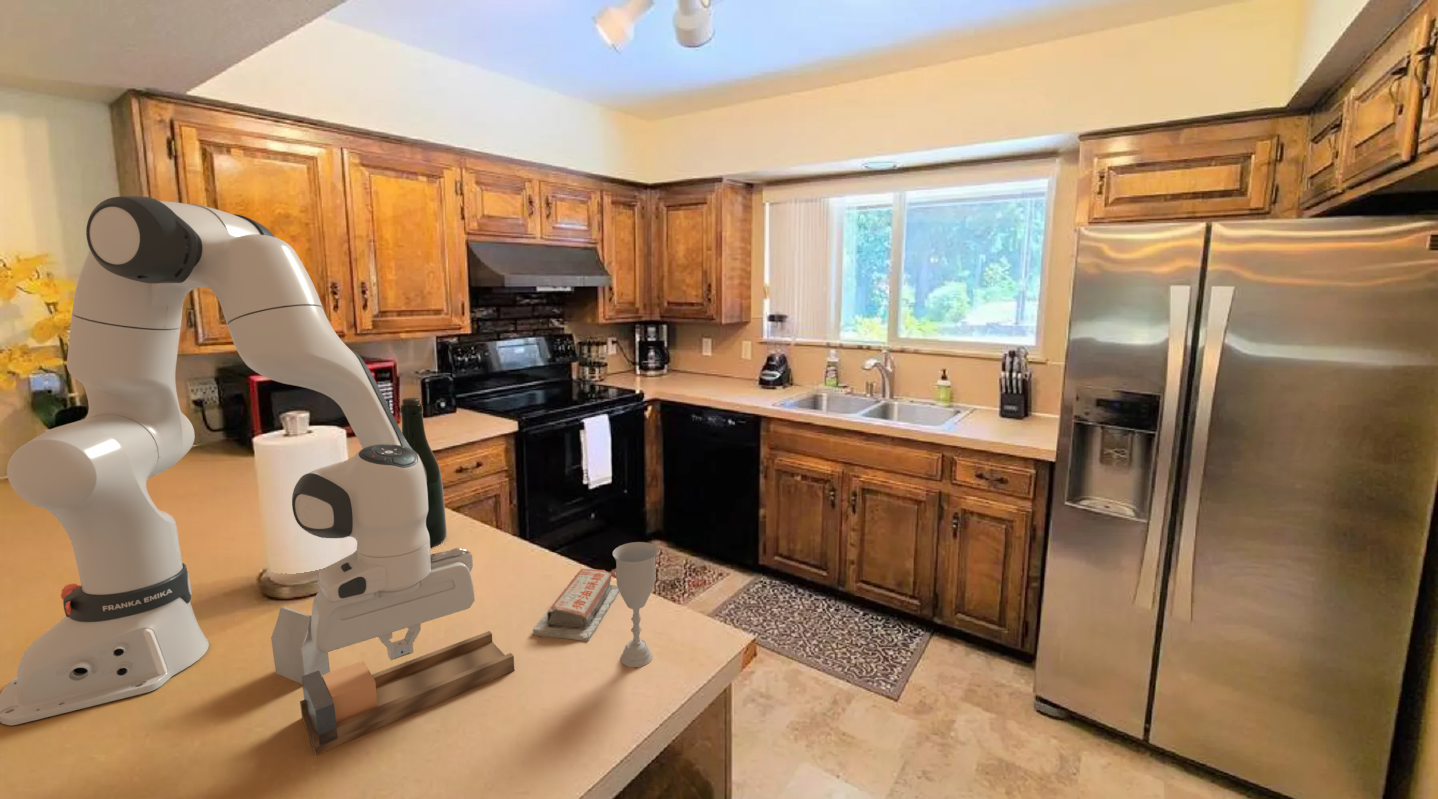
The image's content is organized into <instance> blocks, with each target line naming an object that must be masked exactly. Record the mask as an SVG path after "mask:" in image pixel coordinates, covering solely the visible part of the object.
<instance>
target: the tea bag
mask: <svg viewBox="0 0 1438 799" xmlns="http://www.w3.org/2000/svg"><path fill="white" fill-rule="evenodd" d="M311 616H312V614H308V613H304V612H301V611H298V610H295V609H292V608H289V607H286V606H282V607H279V612H278V616H277V620H276V623H275V625H274V629H273V632H272V635H271V646H272V654H273V661H274V670H275V674H276V675H279V676H281V677H284V678H286V679H289V680H290V681H293V682H296V683H299V684H301V685H302V677H301V676H304V675H307V674H310V673H313V672H316V671H319V672H320V674H321V676H322V675H324V674H327V673H330V672H331V668H330V667H331V666H330V660H329V652H327V653H322V652H320V651H318V650H317V649H316V648H315V646H314V644H313V641H312V636H311Z"/></svg>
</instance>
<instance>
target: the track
mask: <svg viewBox="0 0 1438 799" xmlns="http://www.w3.org/2000/svg"><path fill="white" fill-rule="evenodd" d="M514 671H515V656H514V654H513V653H511V652H510V653H509V652H508V653H507V654H505V653H504V652H502V650H501V649H500V648H499V647H498V646H497V645H496V643H494V642H493V633H492V632H491V631H490V630H489V631H485V632H484V633H483V632H482V633H481V634H477V635H476V636H473V637H469V638H466V639H464V640H462V641H459V642H457V643H453V644H451V645H448V646H445V647H442V648H440V649H438V650H434V651H431V652H430V653H426V654H424V655H421V656H418V657H416V658H413V659H411V660H407V661H405V662H401V663H399V664H397V665H394V666H391V667H389V668H385V669H383V670H381V671H379V672H375V673H371V675H372V676H373V678H374V680H375V683H376V693H377V704H378V707H376V708H373V709H371V710H368V711H366V712H363V713H361V714H358V715H356V716H353V717H351V718H348V719H346V720H344V721H341V722H339V723H336V725H337V730H336V731H337V734H336V732H335V729H333V730H334V732H332V731H328V732H326V733H324V734H323V736H322V734H321V736H322V737H324V735H327V737H328V735H329V736H330V737H331V735H338V736H337V738H338V739H335V738H334V739H335V740H334V739H333V738H332V739H333V740H331V738H330V739H329V738H327V737H326V736H325V738H327V739H328V743H327V742H326V740H327V739H325V738H323V739H322V741H323V740H324V739H325V740H324V741H325V742H326V743H325V744H324V743H320V742H321V741H320V740H321V738H319V736H318V733H317V731H316V732H314V730H313V728H312V725H311V722H310V720H309V717H308V715H307V709H306V703H305V700H304V699H303V700H299V705H300V712H301V719H302V721H303V725H304V727H305V730H306V732H307V735H308V737H309V740H310V743H311V746H312V748H313V751H314V754H315V755H320V754H321V753H322V754H323V753H324V752H326V751H328V750H332V749H333V748H335V747H338V746H340V745H343V744H346V743H348V742H350V741H352V740H354V739H355V740H356V738H359V737H362V736H364V735H367V734H369V733H371V732H374V731H376V730H378V729H380V728H383V727H385V726H388V725H389V724H393V723H394V722H397V721H399V720H402V719H404V718H406V717H409V716H411V715H414V714H416V713H418V712H421V711H423V710H426V709H427V708H430V707H433V706H434V705H437V704H440V703H443V702H444V701H446V700H449V699H451V698H453V697H456V696H458V695H460V694H462V693H465V692H467V691H470V690H471V689H474V688H477V687H479V686H482V685H483V684H486V683H489V682H490V681H494V680H495V679H498V678H500V677H502V676H505V675H507V674H509V673H512V672H514ZM329 732H330V733H329ZM324 741H323V742H324ZM329 741H331V742H329ZM321 744H324V745H321ZM320 745H321V746H320Z"/></svg>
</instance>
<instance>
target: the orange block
mask: <svg viewBox="0 0 1438 799" xmlns="http://www.w3.org/2000/svg"><path fill="white" fill-rule="evenodd" d="M322 678H323V681H324V683H325V685H326V687H327V689H328V691H329V694H330V696H331V698H332V700H333V702H334V708H335V716H336V723H339V722H341V721H344V720H346V719H348V718H351V717H353V716H356V715H358V714H361V713H363V712H366V711H368V710H371V709H373V708H376V707H378V704H377V693H376V683H375V680H374V678H373V676H372V673H371V671H370V670H369V668H368V666H367V665H366V662H365V661H364V660H361V661H358V662H356V663H352V664H350V665H348V666H345V667H342V668H339V669H336V670H333V671H330V672H328V673H326V674H324V675H322Z"/></svg>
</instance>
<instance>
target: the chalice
mask: <svg viewBox="0 0 1438 799" xmlns="http://www.w3.org/2000/svg"><path fill="white" fill-rule="evenodd" d="M658 553H659V548H658V546H656V545H655V544H652V543H650V542H645V541H636V542H628V543H624V544H622V545H619V546H618V547H616V548H615V549H614V550H613V551H612V556H613V558H614V559H615V563H616V566H615V567H616V569H615V570H616V571H615V572H616V586H618V589H619V594H620V596H621V598H622V599H623V601H624V603H625V605H626V607H627V608H628V609H631V610H633V613H632V616H631V619H630V620H631V622H632V623H633V625H632V627H631V628H630V632H631V633H632V635H633V637H632V638H633V639H631V640H630V641H628V642H627V643H626V645H625V646H624V649H623V651H622V654H621V656H620V661H621V663H622V664H623V665H625V666H626V667H629V668H641V667H644V666H646V665H648V664H649V663H651V661H652V660H653V658H654V657H653V653H652V652H651V649H650V648H649V644H647V642H646V641H645V640H643V639H641V637H640V633H641V632H642V630H643V628H642V627H641V626H640V622H641V620H642V617H641V614H640V610H641V609H642V608H644V607H645V606H646V604H647V601H648V600H649V597H650V595H651V594H652V591H653V589H654V585H655V583H656V557H657V555H658Z"/></svg>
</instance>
